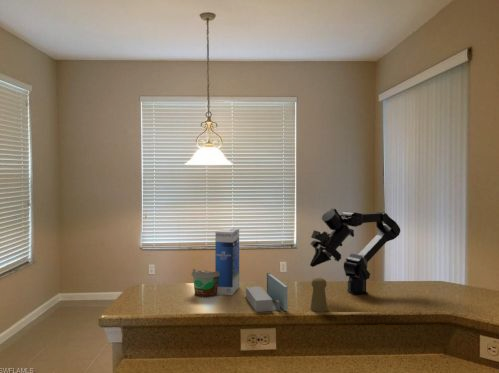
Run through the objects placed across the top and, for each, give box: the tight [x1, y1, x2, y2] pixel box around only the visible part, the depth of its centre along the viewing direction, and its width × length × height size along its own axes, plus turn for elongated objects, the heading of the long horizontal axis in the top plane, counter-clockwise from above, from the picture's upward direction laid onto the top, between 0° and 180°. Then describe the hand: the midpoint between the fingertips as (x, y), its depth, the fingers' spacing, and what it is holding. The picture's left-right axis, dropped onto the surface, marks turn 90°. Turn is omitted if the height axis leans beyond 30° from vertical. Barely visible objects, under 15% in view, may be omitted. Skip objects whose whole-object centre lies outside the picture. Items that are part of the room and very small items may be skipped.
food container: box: [191, 268, 220, 298], centre depth 156 cm, size 12×6×10 cm, turn 68°
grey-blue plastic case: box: [245, 272, 281, 313], centre depth 146 cm, size 10×20×9 cm, turn 12°
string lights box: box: [214, 227, 240, 296], centre depth 163 cm, size 13×8×26 cm, turn 168°
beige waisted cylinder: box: [310, 277, 328, 313], centre depth 138 cm, size 6×6×11 cm
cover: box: [268, 273, 288, 312], centre depth 145 cm, size 2×20×8 cm, turn 14°
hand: (311, 265), depth 152 cm, fingers closed
